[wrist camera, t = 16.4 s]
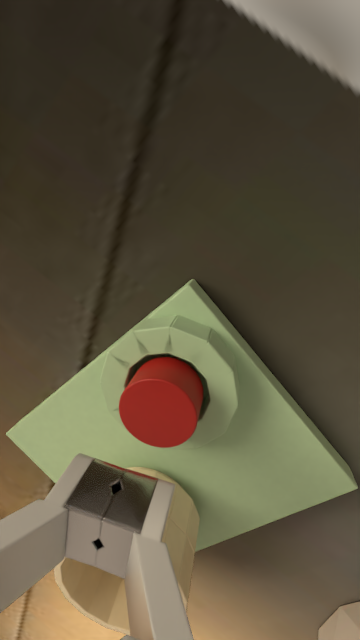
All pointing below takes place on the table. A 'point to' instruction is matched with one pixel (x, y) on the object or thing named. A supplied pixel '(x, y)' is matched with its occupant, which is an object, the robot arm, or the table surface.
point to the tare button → (162, 402)
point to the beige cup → (109, 590)
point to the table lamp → (342, 624)
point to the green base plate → (212, 428)
